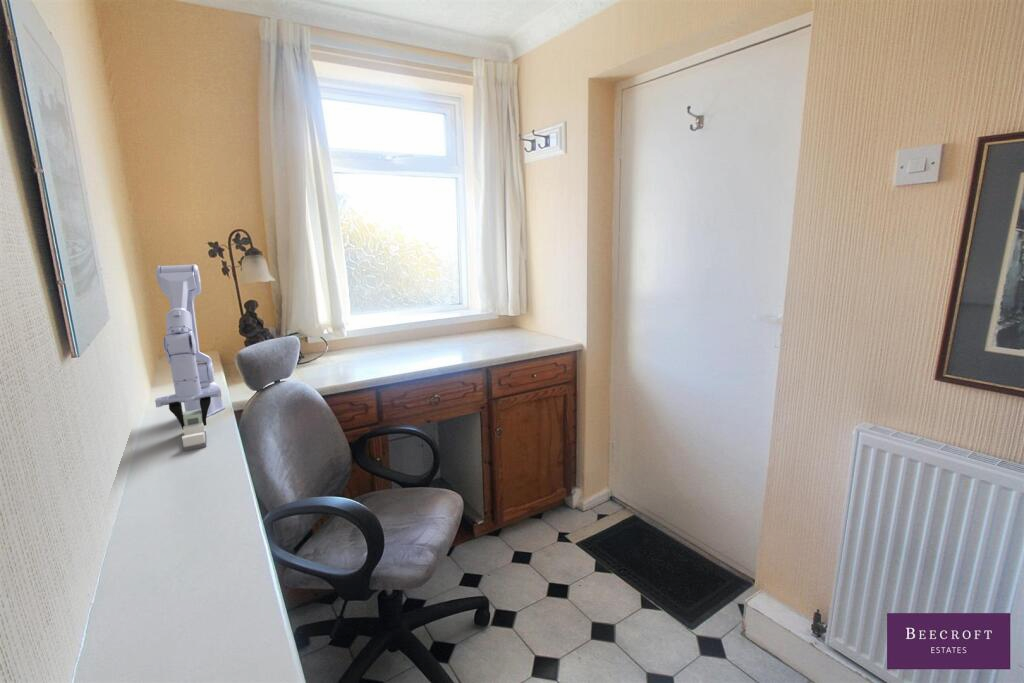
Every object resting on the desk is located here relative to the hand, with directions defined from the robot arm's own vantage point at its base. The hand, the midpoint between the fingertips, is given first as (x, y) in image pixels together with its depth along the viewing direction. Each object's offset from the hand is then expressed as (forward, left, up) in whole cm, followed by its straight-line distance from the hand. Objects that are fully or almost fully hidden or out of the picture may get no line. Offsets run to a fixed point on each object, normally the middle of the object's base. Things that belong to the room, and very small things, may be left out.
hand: (194, 426), depth 130 cm
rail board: (+6, +5, -2) cm, 8 cm away
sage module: (0, 0, -2) cm, 2 cm away
